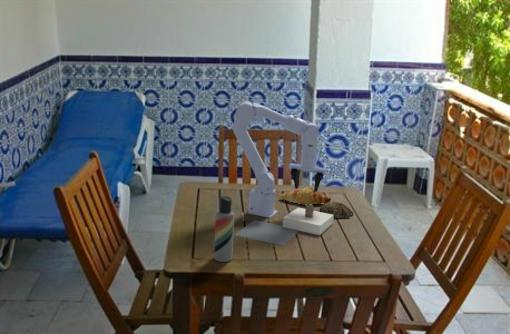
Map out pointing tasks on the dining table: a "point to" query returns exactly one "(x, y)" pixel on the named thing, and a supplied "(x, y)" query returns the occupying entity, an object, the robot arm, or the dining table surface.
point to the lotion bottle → (224, 230)
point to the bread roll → (336, 209)
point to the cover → (308, 220)
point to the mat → (267, 232)
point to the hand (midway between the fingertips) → (306, 189)
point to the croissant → (305, 196)
